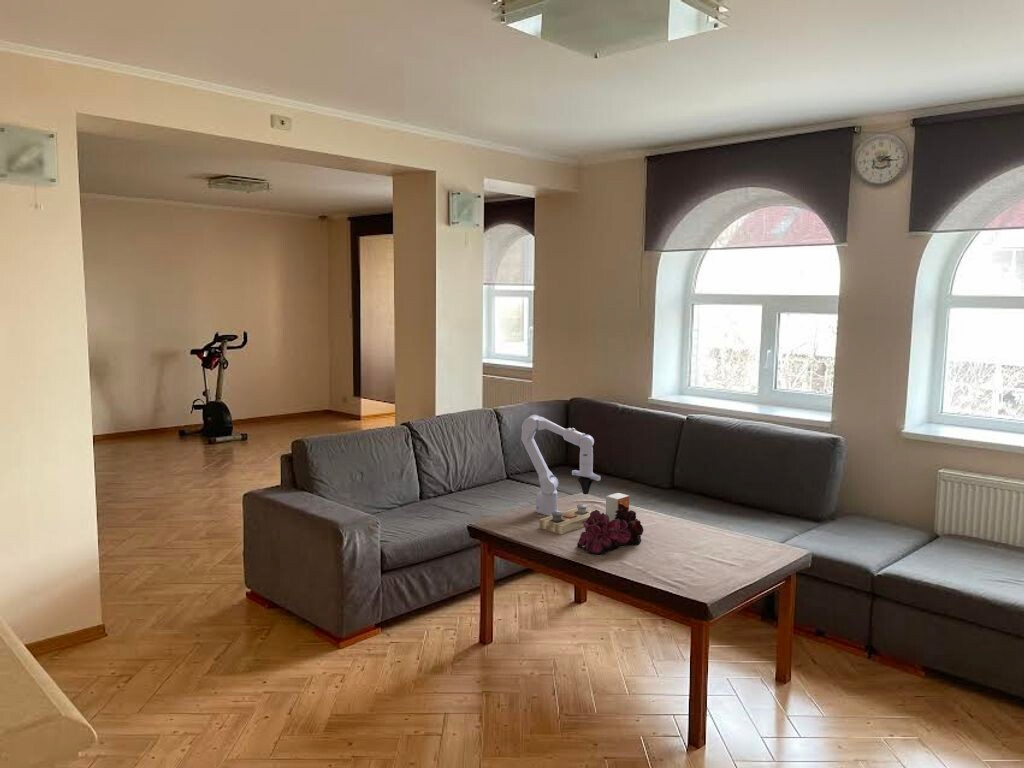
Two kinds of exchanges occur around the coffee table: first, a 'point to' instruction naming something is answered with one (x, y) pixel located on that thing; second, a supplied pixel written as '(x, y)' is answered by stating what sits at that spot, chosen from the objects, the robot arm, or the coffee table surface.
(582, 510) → the knob
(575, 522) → the button board
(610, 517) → the small box
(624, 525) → the flower arrangement
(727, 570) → the coffee table surface
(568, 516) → the plunger terracotta
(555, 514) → the plunger charcoal
